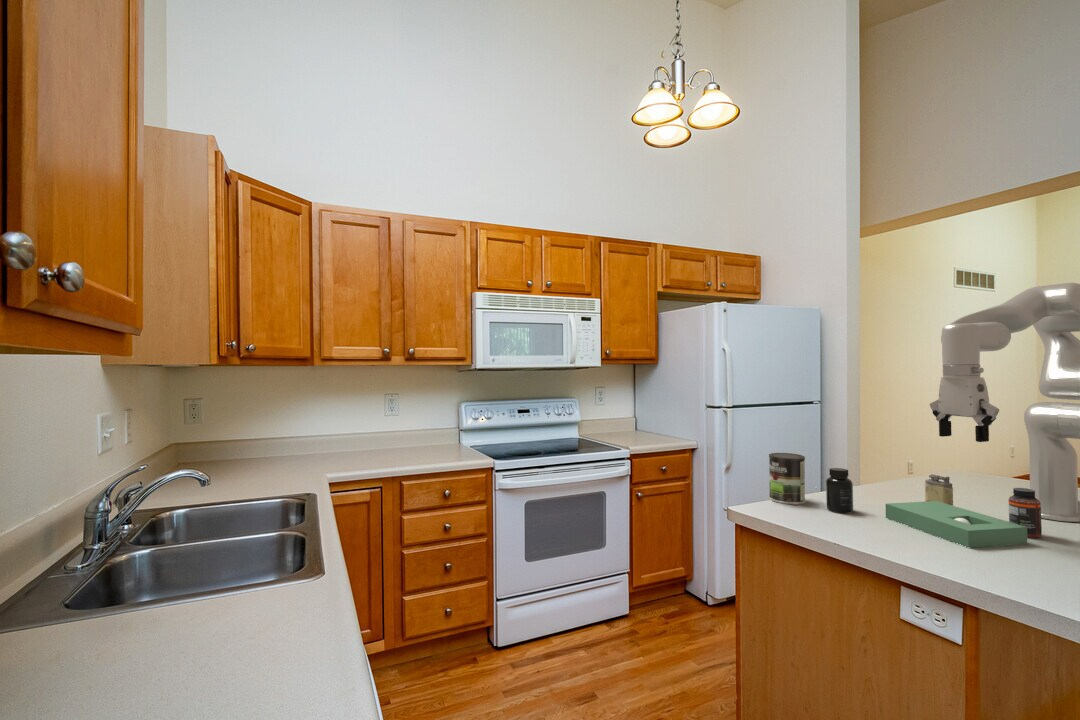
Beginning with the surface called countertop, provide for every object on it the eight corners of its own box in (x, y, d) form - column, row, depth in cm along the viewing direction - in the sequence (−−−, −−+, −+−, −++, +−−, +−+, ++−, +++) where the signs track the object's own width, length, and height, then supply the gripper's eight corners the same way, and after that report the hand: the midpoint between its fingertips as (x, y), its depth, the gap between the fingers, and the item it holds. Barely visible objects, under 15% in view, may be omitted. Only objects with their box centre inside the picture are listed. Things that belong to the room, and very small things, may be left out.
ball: (962, 534, 132) (958, 518, 133) (978, 534, 128) (973, 517, 130) (949, 534, 131) (945, 518, 132) (964, 534, 127) (960, 517, 129)
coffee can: (788, 506, 158) (788, 459, 158) (762, 498, 167) (761, 454, 167) (813, 502, 162) (812, 456, 162) (785, 494, 171) (785, 451, 171)
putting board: (936, 515, 147) (936, 500, 147) (1027, 544, 124) (1027, 527, 124) (885, 518, 145) (885, 503, 145) (968, 548, 121) (968, 530, 121)
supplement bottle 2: (1033, 532, 132) (1032, 487, 132) (1047, 539, 126) (1046, 492, 126) (1004, 530, 134) (1003, 485, 134) (1016, 537, 128) (1015, 491, 128)
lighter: (922, 507, 156) (921, 473, 156) (930, 505, 157) (929, 472, 157) (949, 513, 149) (948, 478, 149) (956, 511, 151) (956, 477, 151)
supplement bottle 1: (853, 509, 154) (853, 468, 154) (853, 515, 148) (852, 472, 148) (827, 506, 158) (826, 466, 158) (825, 511, 152) (824, 470, 152)
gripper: (1009, 371, 126) (1011, 443, 126) (942, 370, 143) (944, 433, 143) (983, 372, 125) (985, 444, 125) (918, 371, 142) (920, 435, 142)
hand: (963, 438), depth 134 cm, fingers open, 9 cm apart
